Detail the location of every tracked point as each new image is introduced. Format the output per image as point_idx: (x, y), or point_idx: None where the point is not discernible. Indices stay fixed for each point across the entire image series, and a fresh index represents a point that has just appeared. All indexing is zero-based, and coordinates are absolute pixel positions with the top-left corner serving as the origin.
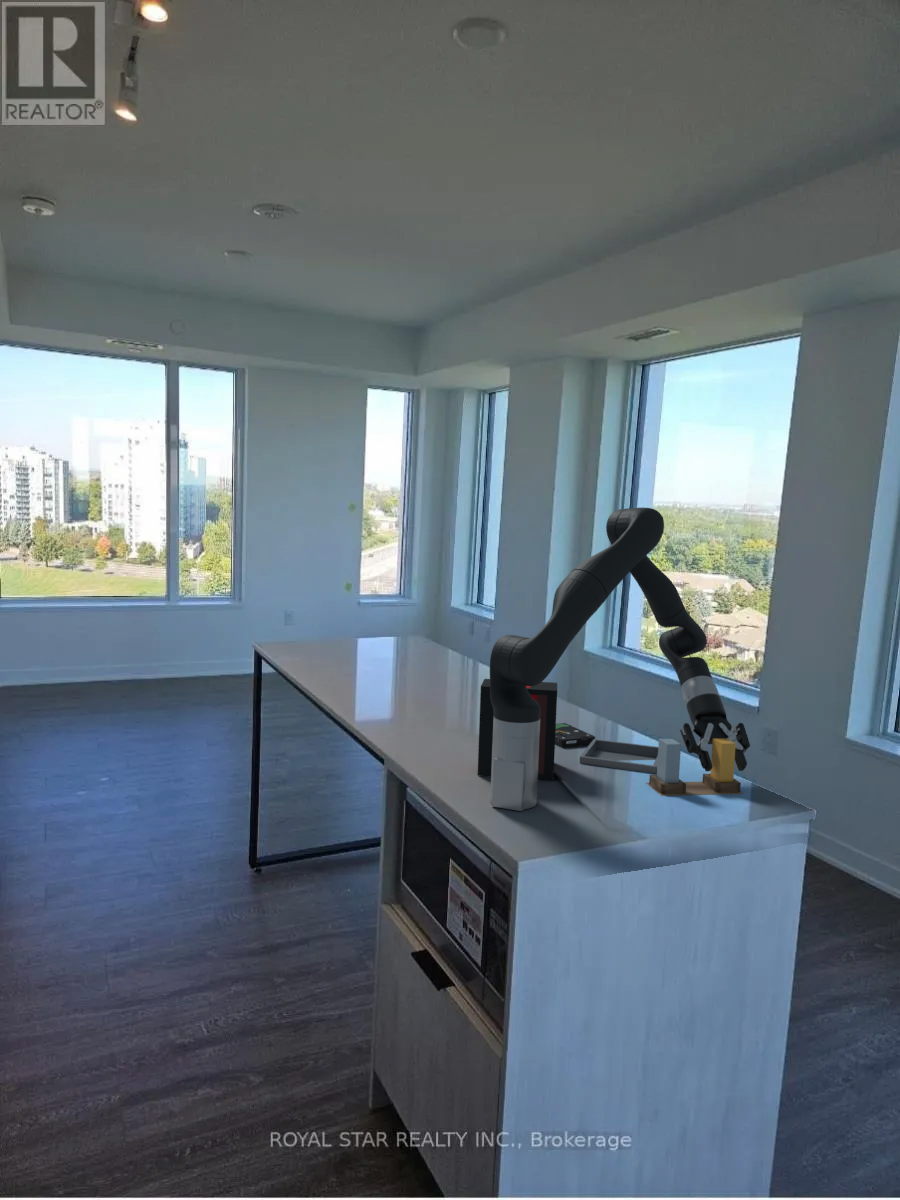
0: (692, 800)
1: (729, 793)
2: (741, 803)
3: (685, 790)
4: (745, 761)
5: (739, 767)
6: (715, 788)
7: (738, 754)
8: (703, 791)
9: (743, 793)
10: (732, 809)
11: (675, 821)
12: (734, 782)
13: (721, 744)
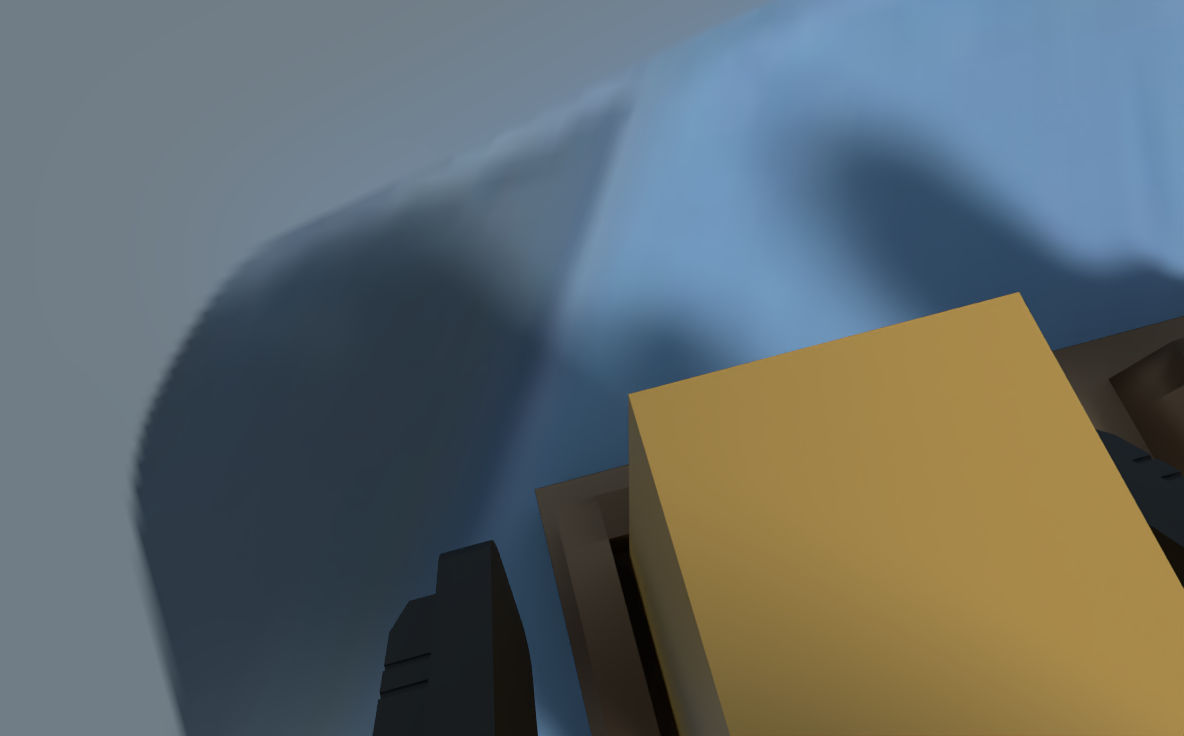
0: None
1: None
2: (582, 434)
3: (1129, 369)
4: (406, 645)
5: (520, 636)
6: None
7: (499, 706)
8: None
9: (540, 495)
10: (691, 283)
11: (1110, 9)
12: (625, 504)
13: (1017, 335)
